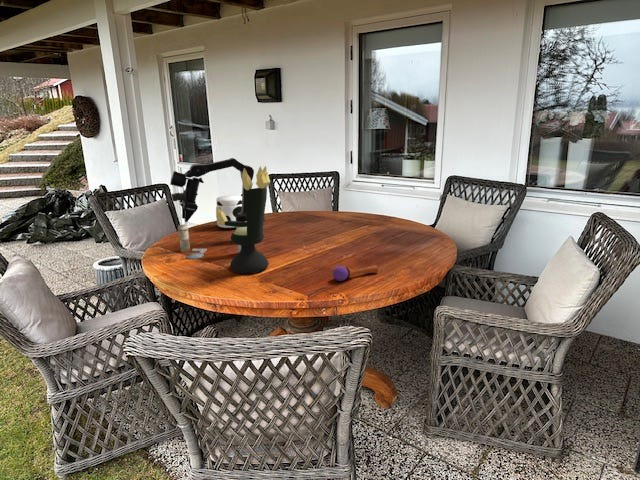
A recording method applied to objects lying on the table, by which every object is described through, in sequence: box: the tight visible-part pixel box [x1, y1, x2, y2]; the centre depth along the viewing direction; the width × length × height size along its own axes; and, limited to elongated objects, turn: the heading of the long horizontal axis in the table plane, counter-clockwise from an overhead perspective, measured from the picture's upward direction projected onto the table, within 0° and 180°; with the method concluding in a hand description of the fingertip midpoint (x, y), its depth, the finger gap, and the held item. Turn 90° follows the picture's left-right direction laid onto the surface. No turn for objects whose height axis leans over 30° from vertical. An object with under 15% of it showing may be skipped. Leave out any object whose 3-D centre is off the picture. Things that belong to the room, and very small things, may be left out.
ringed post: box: [177, 224, 191, 253], centre depth 210 cm, size 5×5×13 cm
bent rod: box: [191, 248, 208, 254], centre depth 210 cm, size 7×5×1 cm
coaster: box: [186, 252, 205, 260], centre depth 203 cm, size 8×8×1 cm
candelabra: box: [215, 165, 271, 275], centre depth 178 cm, size 19×22×45 cm
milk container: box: [215, 195, 242, 230], centre depth 253 cm, size 17×17×18 cm
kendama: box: [332, 264, 379, 282], centre depth 172 cm, size 6×6×20 cm
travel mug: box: [235, 213, 247, 254], centre depth 202 cm, size 6×7×20 cm
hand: (184, 220), depth 210 cm, fingers open, 9 cm apart
